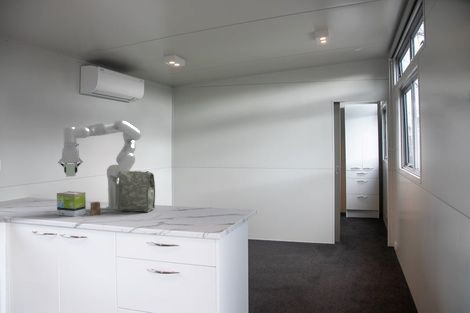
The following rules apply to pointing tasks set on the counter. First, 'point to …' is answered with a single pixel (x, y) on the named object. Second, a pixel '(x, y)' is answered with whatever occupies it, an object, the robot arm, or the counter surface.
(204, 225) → the counter surface
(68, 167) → the green block
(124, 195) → the bag
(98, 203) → the walnut block
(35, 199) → the counter surface
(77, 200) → the tea box
